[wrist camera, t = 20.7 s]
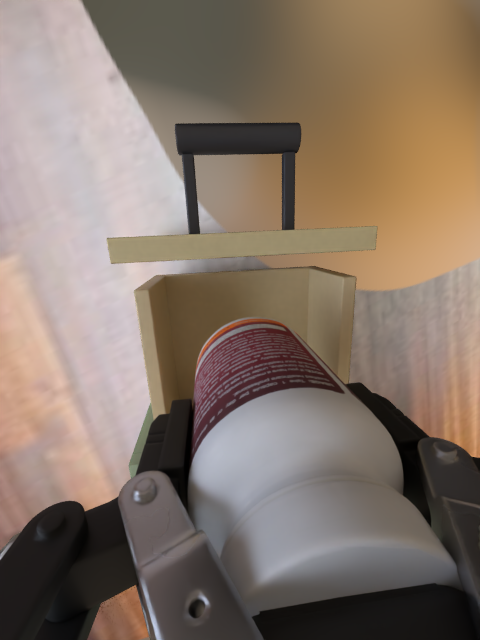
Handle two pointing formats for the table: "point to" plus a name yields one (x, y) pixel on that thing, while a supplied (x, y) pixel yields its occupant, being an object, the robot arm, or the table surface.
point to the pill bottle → (299, 477)
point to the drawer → (239, 286)
